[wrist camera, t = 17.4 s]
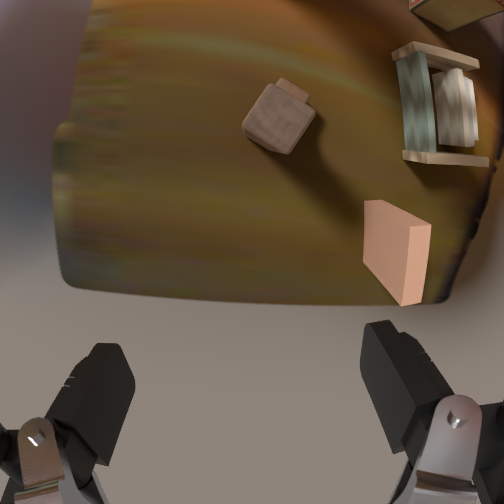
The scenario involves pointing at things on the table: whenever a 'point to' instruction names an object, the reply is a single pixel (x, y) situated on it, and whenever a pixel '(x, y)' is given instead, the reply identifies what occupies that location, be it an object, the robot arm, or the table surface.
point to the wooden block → (279, 117)
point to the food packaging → (455, 11)
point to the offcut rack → (437, 104)
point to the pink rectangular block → (396, 250)
